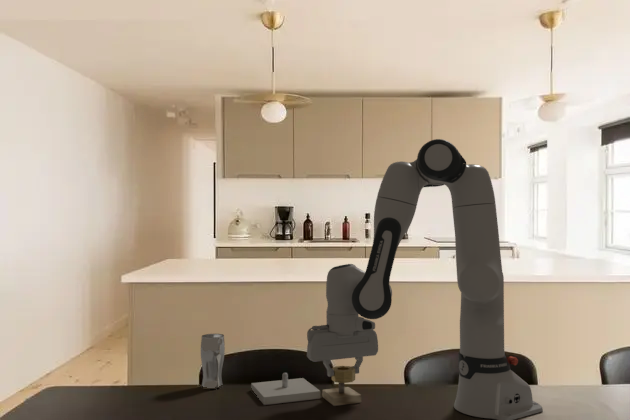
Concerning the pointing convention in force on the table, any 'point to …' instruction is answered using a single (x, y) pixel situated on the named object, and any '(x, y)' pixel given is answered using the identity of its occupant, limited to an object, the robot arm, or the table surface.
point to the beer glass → (212, 359)
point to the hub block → (285, 390)
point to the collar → (343, 374)
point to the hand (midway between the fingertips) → (343, 374)
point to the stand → (341, 395)
